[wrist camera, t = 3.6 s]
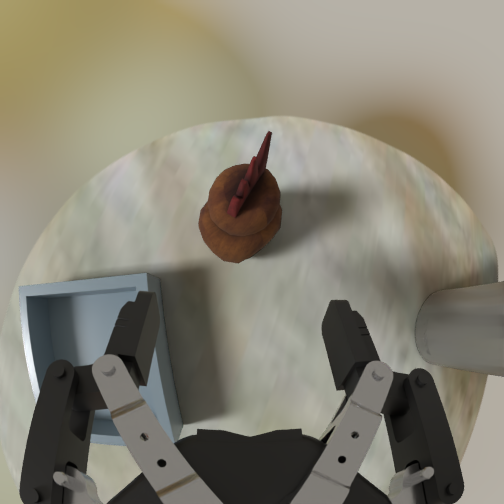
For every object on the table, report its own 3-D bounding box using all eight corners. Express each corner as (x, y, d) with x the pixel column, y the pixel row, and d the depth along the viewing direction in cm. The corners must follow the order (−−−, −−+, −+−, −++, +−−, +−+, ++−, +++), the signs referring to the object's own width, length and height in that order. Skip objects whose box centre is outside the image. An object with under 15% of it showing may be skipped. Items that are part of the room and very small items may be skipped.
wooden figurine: (245, 192, 29) (265, 94, 14) (282, 235, 29) (337, 166, 14) (192, 232, 28) (161, 156, 13) (229, 278, 27) (234, 246, 13)
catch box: (159, 278, 27) (146, 272, 22) (183, 425, 24) (175, 446, 19) (45, 290, 25) (18, 286, 20) (67, 420, 22) (45, 435, 17)
